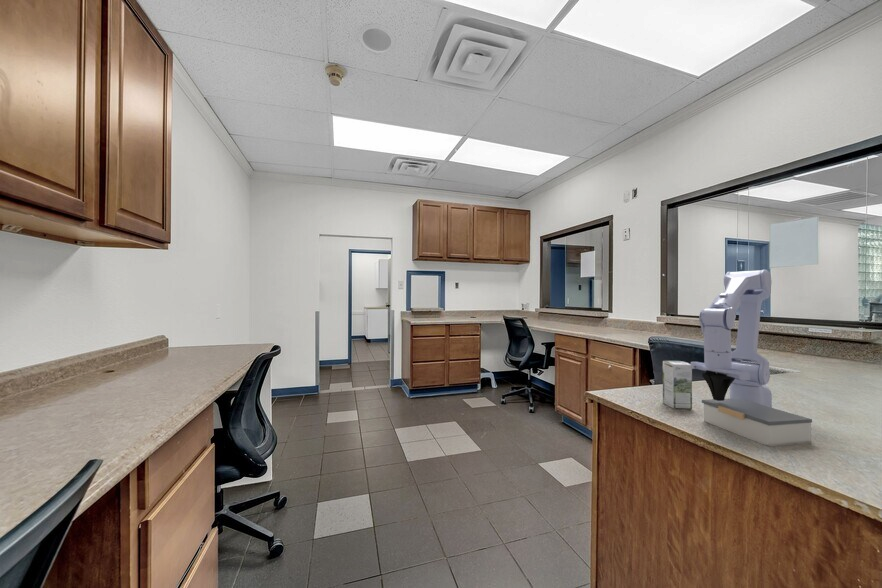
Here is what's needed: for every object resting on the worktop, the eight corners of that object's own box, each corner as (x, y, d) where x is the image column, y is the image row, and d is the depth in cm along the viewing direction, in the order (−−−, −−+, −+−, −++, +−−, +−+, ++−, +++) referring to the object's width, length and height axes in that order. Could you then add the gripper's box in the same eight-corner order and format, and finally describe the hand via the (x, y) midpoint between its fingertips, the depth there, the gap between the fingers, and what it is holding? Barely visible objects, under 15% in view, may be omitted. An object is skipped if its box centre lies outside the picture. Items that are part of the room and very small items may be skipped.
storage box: (739, 418, 91) (739, 401, 92) (811, 443, 76) (810, 422, 76) (703, 421, 90) (703, 403, 90) (769, 446, 74) (769, 425, 74)
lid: (738, 402, 92) (738, 398, 92) (812, 425, 75) (811, 419, 76) (699, 404, 90) (699, 399, 90) (766, 427, 74) (766, 421, 74)
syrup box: (680, 403, 105) (679, 360, 105) (693, 409, 99) (692, 363, 99) (662, 403, 105) (661, 360, 106) (673, 409, 99) (672, 363, 100)
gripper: (681, 347, 94) (682, 392, 94) (732, 356, 80) (734, 409, 79) (701, 346, 95) (702, 391, 95) (756, 355, 81) (757, 408, 80)
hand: (718, 399), depth 87 cm, fingers closed
